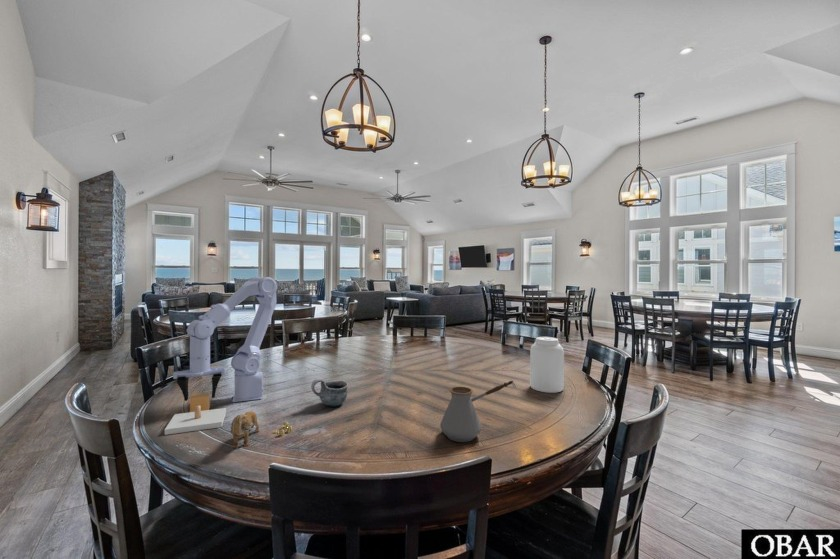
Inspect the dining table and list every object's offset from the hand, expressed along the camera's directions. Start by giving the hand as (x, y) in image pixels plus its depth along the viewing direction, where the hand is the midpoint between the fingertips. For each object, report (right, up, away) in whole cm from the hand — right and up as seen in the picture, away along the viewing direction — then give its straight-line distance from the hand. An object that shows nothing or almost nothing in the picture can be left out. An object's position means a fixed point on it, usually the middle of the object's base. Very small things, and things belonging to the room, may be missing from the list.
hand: (200, 398), depth 120 cm
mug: (+41, -4, +5) cm, 42 cm away
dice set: (+33, -5, -16) cm, 37 cm away
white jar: (+122, -4, +25) cm, 124 cm away
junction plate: (+5, -4, -10) cm, 12 cm away
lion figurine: (+26, -5, -22) cm, 34 cm away
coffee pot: (+88, -5, -17) cm, 90 cm away
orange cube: (0, -4, 0) cm, 4 cm away
